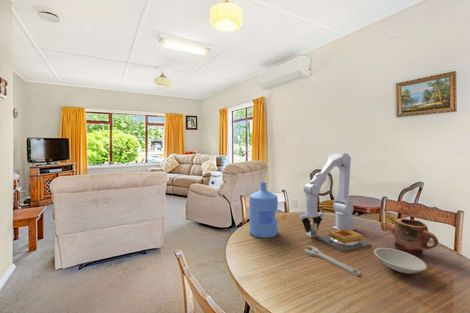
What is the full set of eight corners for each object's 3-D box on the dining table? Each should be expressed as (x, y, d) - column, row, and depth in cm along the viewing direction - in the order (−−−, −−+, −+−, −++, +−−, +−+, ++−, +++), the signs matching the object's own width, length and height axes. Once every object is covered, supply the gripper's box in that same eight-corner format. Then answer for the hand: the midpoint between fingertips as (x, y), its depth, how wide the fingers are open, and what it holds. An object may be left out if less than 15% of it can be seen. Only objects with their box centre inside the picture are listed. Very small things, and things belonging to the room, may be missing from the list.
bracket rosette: (344, 233, 123) (344, 225, 123) (371, 245, 108) (371, 236, 108) (317, 239, 117) (318, 230, 117) (342, 252, 102) (343, 242, 102)
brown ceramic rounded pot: (448, 261, 94) (449, 228, 93) (429, 267, 89) (430, 232, 89) (399, 242, 112) (399, 214, 112) (381, 246, 108) (381, 217, 108)
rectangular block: (311, 233, 124) (311, 221, 124) (316, 236, 120) (317, 223, 120) (305, 234, 123) (305, 222, 122) (310, 237, 119) (310, 224, 119)
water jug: (243, 233, 125) (243, 183, 124) (260, 225, 137) (260, 179, 136) (266, 241, 115) (266, 186, 113) (283, 232, 126) (283, 182, 125)
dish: (364, 261, 94) (364, 249, 94) (392, 257, 97) (392, 245, 97) (406, 287, 77) (406, 272, 77) (437, 280, 80) (438, 266, 80)
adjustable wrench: (361, 276, 85) (361, 271, 85) (349, 280, 82) (350, 275, 82) (311, 248, 107) (311, 244, 107) (301, 251, 104) (301, 247, 104)
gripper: (317, 203, 127) (317, 226, 128) (295, 205, 122) (295, 230, 123) (326, 206, 121) (326, 231, 121) (304, 208, 115) (303, 235, 116)
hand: (311, 231), depth 121 cm, fingers open, 5 cm apart
